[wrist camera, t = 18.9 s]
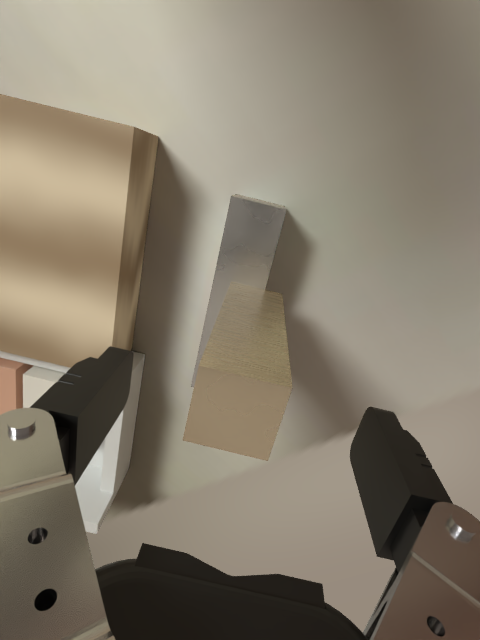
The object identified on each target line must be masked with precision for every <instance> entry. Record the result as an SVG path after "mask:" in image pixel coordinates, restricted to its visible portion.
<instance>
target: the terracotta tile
mask: <svg viewBox="0 0 480 640" xmlns="http://www.w3.org/2000/svg"><path fill="white" fill-rule="evenodd" d="M33 366H34V365H30V364H25V363H21V362H17V361H13V360H9V359H4V358H0V415H1V414H3V413H6V412H8V411H11V410H14V409H19V408H23V374H24V373H25V372H26V371H28V370H29V369H30V368H32V367H33Z"/></svg>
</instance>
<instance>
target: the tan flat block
mask: <svg viewBox="0 0 480 640" xmlns="http://www.w3.org/2000/svg"><path fill="white" fill-rule="evenodd" d="M157 145H158V136H156V135H153V134H151V133H148V132H146V131H143V130H141V129H138V128H135V127H132V126H128V125H124V124H120V123H116V122H112V121H108V120H104V119H100V118H96V117H91V116H87V115H83V114H79V113H75V112H71V111H67V110H63V109H59V108H55V107H51V106H47V105H42V104H38V103H34V102H30V101H26V100H22V99H18V98H14V97H10V96H6V95H2V94H0V351H2V352H7V353H11V354H15V355H19V356H23V357H28V358H32V359H36V360H40V361H44V362H49V363H53V364H57V365H61V366H65V367H70V368H71V367H72V366H73V365H74V364H75V363H77V362H80V361H82V360H84V359H86V358H89V357H93V358H97V359H98V358H99V357H100V356H101V355H102V354H103V353H104V352H105V351H106V349H107V348H108V347H110V346H112V347H116V348H121V349H125V350H129V351H131V349H132V345H133V337H134V329H135V321H136V313H137V305H138V297H139V289H140V281H141V273H142V265H143V257H144V249H145V241H146V233H147V225H148V217H149V209H150V201H151V193H152V185H153V177H154V169H155V161H156V153H157Z"/></svg>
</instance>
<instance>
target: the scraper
mask: <svg viewBox="0 0 480 640" xmlns="http://www.w3.org/2000/svg"><path fill="white" fill-rule="evenodd" d="M286 211H287V209H286V208H285V206H282V205H278V204H274V203H270V202H266V201H262V200H258V199H254V198H250V197H246V196H242V195H238V194H235V195H232V196H231V200H230V204H229V209H228V214H227V218H226V223H225V228H224V233H223V237H222V242H221V247H220V252H219V256H218V261H217V266H216V271H215V275H214V280H213V285H212V290H211V294H210V299H209V304H208V308H207V313H206V318H205V323H204V327H203V332H202V337H201V342H200V346H199V351H198V356H197V361H196V365H195V370H194V375H193V380H192V384H191V387H194V390H193V395H192V399H191V404H190V409H189V413H188V418H187V423H186V427H185V432H184V436H183V440H184V441H188V442H192V443H196V444H200V445H204V446H208V447H213V448H217V449H221V450H225V451H229V452H233V453H237V454H242V455H246V456H250V457H254V458H258V459H262V460H266V461H268V459H269V456H270V453H271V450H272V447H273V444H274V441H275V438H276V435H277V432H278V429H279V426H280V423H281V420H282V417H283V414H284V411H285V409H286V406H287V403H288V400H289V397H290V394H291V391H292V380H291V371H290V362H289V353H288V343H287V334H286V325H285V316H284V307H283V297H282V294H280V293H276V292H272V291H268V290H265V288H266V285H267V281H268V277H269V274H270V270H271V266H272V263H273V259H274V255H275V251H276V248H277V244H278V240H279V237H280V233H281V229H282V226H283V222H284V218H285V215H286Z"/></svg>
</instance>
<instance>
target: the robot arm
mask: <svg viewBox="0 0 480 640" xmlns="http://www.w3.org/2000/svg"><path fill="white" fill-rule="evenodd" d="M133 357H134V355H133V351H129V350H125V349H121V348H116V347H112V346H110V347H108V348H107V349H106V351H105V352H104V353H103V354H102V355H101V356H100V357H99V358H98V359H97V358H93V357H89V358H86V359H84V360H82V361H80V362H77V363H75V364H74V365H73V366H72V367H71V368H70V369H69V370H68V371H67V372H66V374H64V375H63V376H62V377H61V378H60V379H59V380H58V382H56V383H55V384H54V385H53V386H51V387H50V388H49V389H48V390H47V391H46V392H45V393H44V394H43V395H42V396H41V397H40V398H39V399H38V400H37V401H36V402H35V403H34V404H33V405H32V406H31V407H30V408H19V409H14V410H11V411H8V412H6V413H3V414H1V415H0V640H480V521H479V520H478V519H477V518H475V517H474V516H473V515H472V514H470V513H469V512H467V511H466V510H464V509H463V508H461V507H459V506H457V505H454V504H453V503H452V501H451V499H450V497H449V496H448V494H447V492H446V490H445V488H444V487H443V485H442V483H441V481H440V479H439V478H438V476H437V474H436V472H435V470H434V469H432V465H431V463H430V461H429V460H428V458H426V455H425V452H424V451H423V449H422V447H421V445H420V443H419V442H418V441H417V440H416V439H415V438H414V437H413V436H412V435H411V434H410V433H409V432H408V431H407V430H403V429H402V427H401V425H400V423H399V421H398V419H397V417H396V415H395V414H394V413H393V412H391V411H387V410H382V409H378V408H374V407H369V408H368V409H367V410H366V412H365V414H364V416H363V418H362V421H361V423H360V425H359V428H358V430H357V432H356V435H355V437H354V439H353V442H352V445H351V450H350V461H351V464H352V468H353V471H354V475H355V479H356V483H357V486H358V490H359V493H360V497H361V500H362V504H363V508H364V511H365V515H366V518H367V522H368V525H369V529H370V532H371V536H372V540H373V544H374V547H375V551H376V554H377V556H378V557H381V558H386V559H390V560H394V562H395V565H396V568H395V571H394V572H393V574H392V575H391V577H390V579H389V581H388V583H387V585H386V587H385V589H384V591H383V593H382V595H381V597H380V600H379V602H378V604H377V606H376V608H375V610H374V612H373V614H372V616H371V618H370V620H369V622H368V624H367V626H366V628H365V630H364V632H363V633H362V632H361V631H360V630H359V629H358V628H357V627H356V626H355V625H354V624H353V623H352V622H351V621H350V620H349V619H348V618H346V616H344V615H343V614H342V613H341V612H339V611H338V610H336V609H335V608H333V607H332V606H330V605H329V604H327V603H325V602H324V595H323V586H322V584H320V583H316V582H311V581H307V580H303V579H298V578H294V577H289V576H285V575H281V574H269V575H251V576H230V575H227V574H225V573H223V572H221V571H220V570H218V569H216V568H214V567H212V566H210V565H208V564H206V563H204V562H202V561H201V560H199V559H197V558H195V557H193V556H191V555H189V554H187V553H184V552H179V551H175V550H170V549H166V548H162V547H157V546H153V545H148V544H144V543H143V544H142V546H141V549H140V552H139V554H138V557H137V559H127V560H122V561H117V562H113V563H110V564H107V565H104V566H102V567H100V568H97V569H95V568H94V564H93V560H92V555H91V551H90V547H89V543H88V539H87V535H86V531H85V526H84V522H83V518H82V514H81V510H80V506H79V502H78V498H77V493H76V489H75V485H76V483H77V482H78V480H79V479H80V477H81V475H82V474H83V472H84V471H85V469H86V468H87V466H88V464H89V463H90V461H91V460H92V458H93V456H94V455H95V453H96V452H97V450H98V449H99V447H100V445H101V444H102V442H103V441H104V439H105V437H106V436H107V434H108V433H109V431H110V430H111V428H112V426H113V425H114V423H115V422H116V420H117V419H118V417H119V415H120V414H121V412H122V411H123V409H124V407H125V405H126V403H127V400H128V396H129V392H130V384H131V375H132V367H133Z"/></svg>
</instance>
